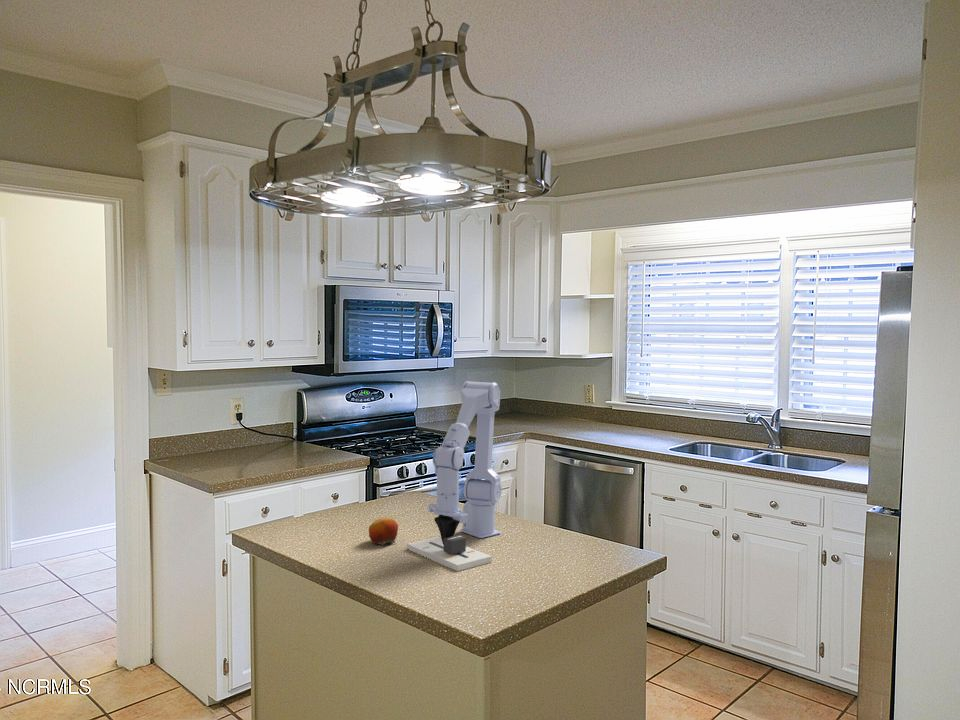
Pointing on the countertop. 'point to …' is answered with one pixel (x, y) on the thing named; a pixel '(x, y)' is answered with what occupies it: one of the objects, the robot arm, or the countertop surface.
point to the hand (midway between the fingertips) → (447, 544)
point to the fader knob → (454, 544)
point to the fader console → (458, 561)
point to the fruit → (383, 531)
